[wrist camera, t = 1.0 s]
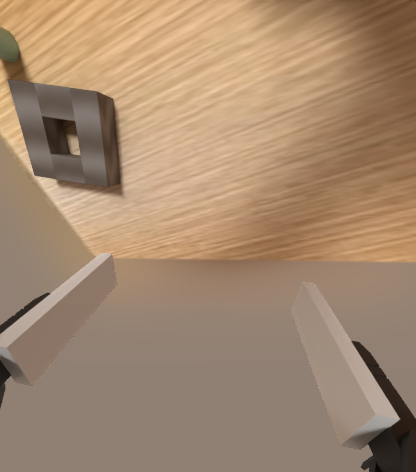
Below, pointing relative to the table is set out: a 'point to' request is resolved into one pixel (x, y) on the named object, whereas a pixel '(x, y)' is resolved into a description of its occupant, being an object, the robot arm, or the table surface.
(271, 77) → the table surface
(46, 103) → the socket
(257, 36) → the table surface
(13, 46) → the peg
